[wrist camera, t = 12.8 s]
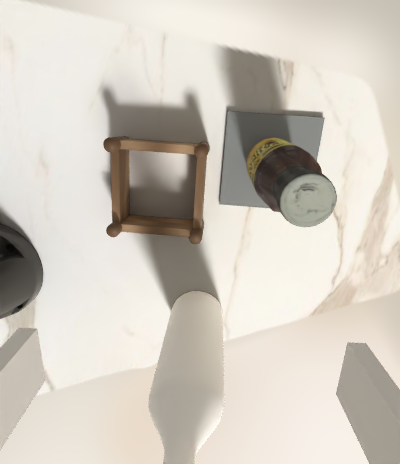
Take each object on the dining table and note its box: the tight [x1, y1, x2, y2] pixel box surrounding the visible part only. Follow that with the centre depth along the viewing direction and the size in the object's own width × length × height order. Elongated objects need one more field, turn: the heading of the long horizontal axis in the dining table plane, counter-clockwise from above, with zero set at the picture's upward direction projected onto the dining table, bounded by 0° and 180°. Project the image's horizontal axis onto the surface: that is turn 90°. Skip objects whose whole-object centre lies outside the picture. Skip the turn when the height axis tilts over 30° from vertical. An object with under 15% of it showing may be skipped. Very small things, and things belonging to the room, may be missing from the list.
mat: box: [220, 111, 324, 208], centre depth 41 cm, size 12×12×1 cm
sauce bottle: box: [247, 138, 337, 227], centre depth 31 cm, size 7×6×20 cm
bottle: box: [149, 291, 224, 464], centre depth 35 cm, size 8×8×30 cm
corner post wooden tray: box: [103, 136, 210, 244], centre depth 40 cm, size 12×12×6 cm
